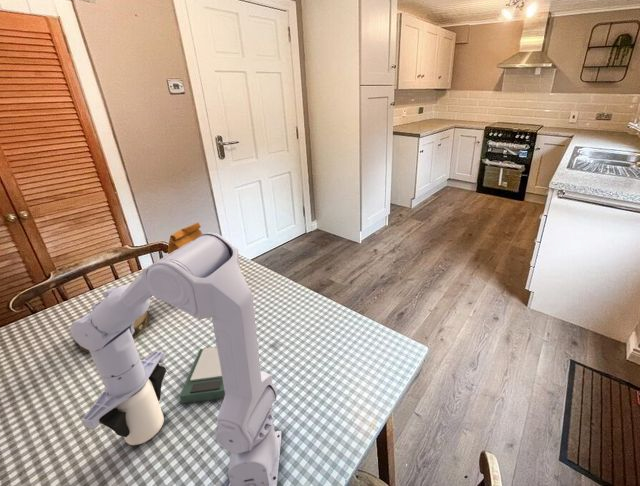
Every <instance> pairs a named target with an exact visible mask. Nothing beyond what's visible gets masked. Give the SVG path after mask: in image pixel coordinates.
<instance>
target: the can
mask: <svg viewBox="0 0 640 486" xmlns="http://www.w3.org/2000/svg"><path fill="white" fill-rule="evenodd" d="M115 408H118V410H119V411H123V412H126V424H127V426H128V428H129V431H130V434H129V435H128V436H127V437H123V438H124V441H125V442H126V444H128V445H131V446H137V445H142V444H145V443H147V442H148V441H150V440H151V439H153V438H154V437H155V436H156V435H157V434H158V433H159V431H160V430H162V429H161V428H162V427H163V425H164V421H165V417H164V413H163V411H162V407H161V405H160V401H158V399H157V396H156V393H155V391H154V388H153V385H152V383H151V381H150V379H148V380H147V382H146V383H145V385H144V386H143V387H142V388H141V389H140V390H139V391H138V392H136V393H135V394H134V395H132V396H131V397H129V398H128V399H126V400H125V401H123V402H122V403H121V404H119V405H118V406H116V407H115Z"/></svg>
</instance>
